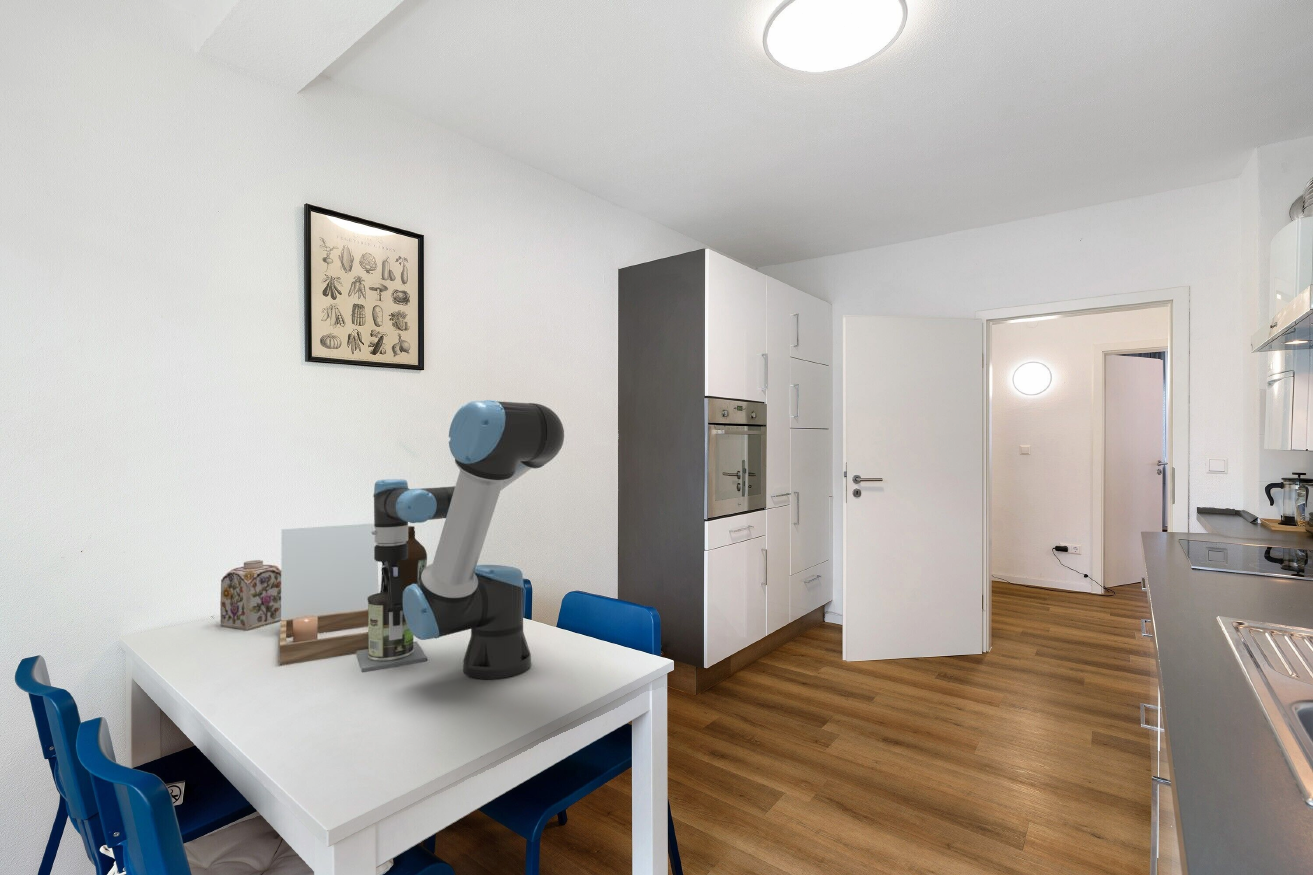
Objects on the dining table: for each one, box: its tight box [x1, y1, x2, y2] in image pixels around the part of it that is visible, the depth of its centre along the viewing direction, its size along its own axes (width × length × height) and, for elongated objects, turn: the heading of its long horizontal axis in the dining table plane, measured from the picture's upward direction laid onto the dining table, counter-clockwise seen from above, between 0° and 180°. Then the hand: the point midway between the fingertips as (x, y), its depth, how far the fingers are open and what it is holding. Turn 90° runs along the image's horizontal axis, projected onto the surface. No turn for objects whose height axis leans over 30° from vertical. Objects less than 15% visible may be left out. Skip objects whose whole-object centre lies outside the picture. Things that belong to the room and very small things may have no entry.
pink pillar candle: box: [292, 616, 319, 643], centre depth 160 cm, size 6×6×6 cm
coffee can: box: [367, 591, 414, 661], centre depth 148 cm, size 10×10×14 cm
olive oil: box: [398, 525, 428, 591], centre depth 197 cm, size 11×11×25 cm
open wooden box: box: [279, 609, 368, 666], centre depth 159 cm, size 24×24×4 cm
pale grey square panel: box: [280, 523, 380, 620], centre depth 173 cm, size 24×24×1 cm
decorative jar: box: [219, 559, 281, 631], centre depth 177 cm, size 12×12×18 cm
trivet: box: [355, 640, 428, 673], centre depth 148 cm, size 14×14×1 cm
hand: (391, 631), depth 148 cm, fingers open, 13 cm apart
